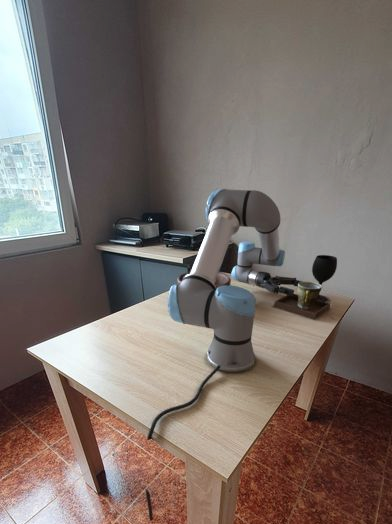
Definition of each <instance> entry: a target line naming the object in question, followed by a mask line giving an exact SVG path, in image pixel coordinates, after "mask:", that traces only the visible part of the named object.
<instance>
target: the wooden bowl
mask: <svg viewBox="0 0 392 524" xmlns="http://www.w3.org/2000/svg"><path fill="white" fill-rule="evenodd" d="M190 272H191V271H187V272H184V273H181V274H179V275H178V277H177V279H176V281H177V284H179V285H180V284H181V282H182V280H183V278H184V277H185V276H186V275H189V274H190ZM231 279H232V278H230V276H229V275H227V274H225V273H222V272H220V271H219V272H218V275H217V278H216V281H215V283H214V285H215V286H216V289H217V288H218V287H220V286H223V285H227V286H229V285H231V283H232V280H231Z"/></svg>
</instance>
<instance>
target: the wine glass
mask: <svg viewBox="0 0 392 524" xmlns="http://www.w3.org/2000/svg"><path fill="white" fill-rule="evenodd" d="M337 266H338V258H337V257H336V256H334V255H329V254H328V255H327V254H320V255H316V257H315V258H314V261H313V263H312V267H311V273H312V276H313V278H314V279H315V280H316V281H317V283H318V284H320V285H323V283H325V282H327V281H329V280H330V279H332V278H333V277H334V275H335V274H336V271H337V268H338V267H337ZM316 300H319V301H323V302H327V303H328V301H329V298H328V297H327V296H326V295H322V294H319V295H318V297H317V299H316Z"/></svg>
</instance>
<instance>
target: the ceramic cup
mask: <svg viewBox="0 0 392 524" xmlns="http://www.w3.org/2000/svg"><path fill="white" fill-rule="evenodd" d="M322 285H323V284H322ZM322 285H320V284H319V282H314V281H303V282H300V283H298V287H297V295H298V306H299V307H300V308H303V309H312V308H313V306H314V304H315V301H316V299H317V297H318V295H320V294H321V291H322V288H323V286H322Z"/></svg>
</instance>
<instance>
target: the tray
mask: <svg viewBox="0 0 392 524" xmlns="http://www.w3.org/2000/svg"><path fill="white" fill-rule="evenodd" d="M273 308H276V309H279V310H282V311H285V312H289V313H291V314H295V315H298V316H301V317H304V318H307V319H311V320H314V321H315V320H317V319H318V318H319V317H321V316H322V315H324V314H325V313H327V312H328V311H330V309H331V303H330V302H328V301H327V302H323V301H319V300H316V301H315V304H314V306H313V308H312V309H303V308H300V307H299V306H298V293H297V294H296V293H294V295H293V296H289V295H286V294H285V295H284V296H282V297H280V298H278V299H275V301H274V302H273Z"/></svg>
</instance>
